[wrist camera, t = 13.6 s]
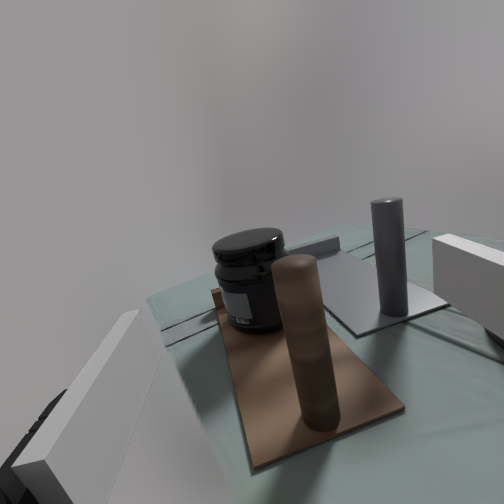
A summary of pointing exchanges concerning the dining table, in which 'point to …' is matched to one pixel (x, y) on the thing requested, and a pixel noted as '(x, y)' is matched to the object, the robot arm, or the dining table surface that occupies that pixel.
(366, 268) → the grey l-shaped stand
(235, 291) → the supplement container
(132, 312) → the robot arm
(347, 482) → the dining table surface
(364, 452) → the dining table surface
